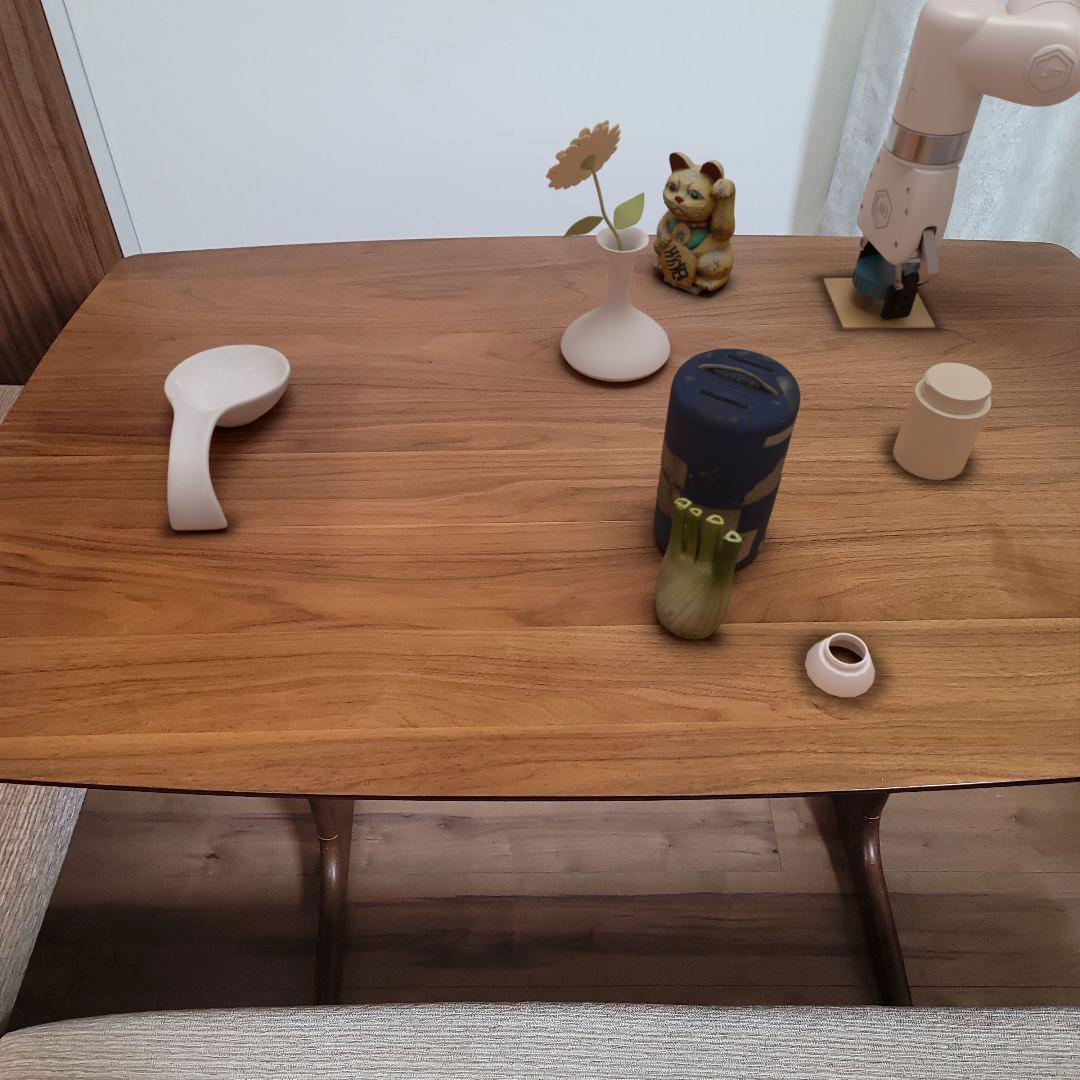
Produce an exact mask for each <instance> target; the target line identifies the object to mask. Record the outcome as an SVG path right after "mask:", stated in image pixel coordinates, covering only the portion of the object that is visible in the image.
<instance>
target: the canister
mask: <svg viewBox="0 0 1080 1080" xmlns="http://www.w3.org/2000/svg"><path fill="white" fill-rule="evenodd" d="M800 406H801V389H800V386H799V383H798V381H797V379H796V377H795V376H794V375H793V373H791V371H790V370H789V369H788V368H787V367H786V366H784V365H783V363H780V362H779V361H778V360H775V359H774V358H772V357H770V356H768V355H766V354H763V353H760V352H756V351H752V350H748V349H743V348H714V349H710V350H707V351H703V352H699V353H697V354H696V355H693V356H692V357H690V358H689V359H687V360H686V361H684V362H683V363H682V364H681V366H679V368H678V369H677V370H676V372H675V374H674V376H673V378H672V381H671V385H670V390H669V398H668V405H667V412H666V420H665V427H664V434H663V439H662V440H663V441H662V446H661V447H662V448H661V453H660V469H659V476H658V483H657V489H656V500H655V508H654V514H653V531H654V535H655V539H656V540H657V543H658V545H659V546H660V547H661V549H662V550H663V551H664V553H666V551H667V548H668V545H669V542H670V536H671V528H672V518H673V502H674V501H675V500H676V499H677V498H686V499H688V500H689V501H691V502H692V508H699V509H701V510H702V512H703V514H702V515H703V516H702V519H703V522H702V534H703V529H704V523H705V519H707V518H709V517H710V516H712V515H713V514H714V515H718V516H720V517H722V519H723V521H724V527H723V533H722V538H721V542H720V546H721V544H722V541H723V538H724V536H725V535H726V534H727V533H728V532H730V531H731V530H732V531H735V532H737V533H738V534H739V536H740V537H741V538H742V545H741V548H740V551H739V554H738V558H737V561H736V565H735V570H736V569H738V568H741V567H743V566H745V565H746V564H748V563H749V562H751V561H752V560H753V559H754V558H755V557H756V556H757V555H758V553H759V552H760V551H761V549H762V548H763V545H764V542H765V538H766V533H767V529H768V526H769V522H770V519H771V516H772V513H773V509H774V507H775V503H776V500H777V494H778V491H779V489H780V484H781V480H782V473H783V470H784V466H785V461H786V458H787V454H788V451H789V447H790V443H791V439H792V435H793V431H794V427H795V424H796V420H797V417H798V414H799V411H800ZM701 536H702V535H701ZM701 543H702V541H701Z"/></svg>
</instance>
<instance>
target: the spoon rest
mask: <svg viewBox="0 0 1080 1080" xmlns="http://www.w3.org/2000/svg"><path fill="white" fill-rule="evenodd" d="M291 372H292V369H291V364H290V361H289V360H288V358H287V357H286V355H284V354H283V353H282V352H280V351H279V350H277V349H274V348H272V347H268V346H264V345H257V344H234V345H233V344H232V345H223V346H218V347H213V348H210V349H205V350H203V351H200V352H198V353H195V354H193V355H191V356H189V357H187V358H185V359H184V360H183V361H181V362H180V363H178V364H177V365H176V366H175V367H174V368H172V370H171V371H170V372H169V374H168V375H167V377H166V379H165V382H164V385H163V386H164V387H163V392H164V395H165V396H166V399H167V401H168V402H169V404H170V405H171V407H172V410H173V423H172V427H171V435H170V440H169V443H170V444H169V451H168V452H169V453H168V462H167V463H168V464H167V466H168V467H167V485H166V487H167V488H166V490H167V491H166V492H167V493H166V494H167V495H166V496H167V497H166V500H167V512H168V513H167V514H168V519H169V523H170V526H171V529H173V530H175V531H205V530H207V531H209V530H220V529H226V528H227V527H228V521H227V519H226V516H225V514H224V512H223V510H222V507H221V504H220V502H219V500H218V498H217V495H216V492H215V489H214V486H213V484H212V483H213V482H212V479H211V474H210V463H209V462H210V460H209V459H210V448H211V447H210V446H211V441H212V436H213V433H214V430H215V427H216V426H217V427H222V428H236V427H241V426H245V425H248V424H251V423H252V422H254V421H256V420H258V419H259V418H260V417H262V416H263V415H265V414H266V413H267V412H269V411H270V410H271V409H272V408H273V407H274V406H275V405H276V404H277V403H278V402H279V401H280V399H281V398H282V396H283V395H284V393H285V392H286V390H287V387H288V386H289V385H288V384H289V381H290V377H291Z"/></svg>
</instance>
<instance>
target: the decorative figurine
mask: <svg viewBox="0 0 1080 1080" xmlns="http://www.w3.org/2000/svg"><path fill="white" fill-rule="evenodd" d="M668 161H669V167H670V170H671V174H670V175H669V176H668V178H667V180H666V182H665V185H664V189H663V190H662V199H663V203H664V205H665V206H666V208H667V210H666V212H665V213H663V215H662V217H661V219H659V221H658V223H657V226H656V235H655V238H654V240H653V245H652V246H653V250H654V252H655V253H656V255H657V256H656V257H655V258H654V260H653V262H652V263H653V265H652V266H653V270H655V271H656V272H658V273H661V274H663V276H664V277H663V281H664V282H666V283H669V284H670V285H671V286H673V287H676V288H680V289H682V290H685V291H687V292H689V293H692V294H694V295H699V294H700V293H702V292H703V291H704V290H705V291H707V290H708V291H709V292H713V291H715V290H718V289H719V288H721V287H723V285H725V284H726V283H727V282H728V281H729V278H730V275H731V272H732V270H733V267H734V259H735V257H734V253H733V250H732V243H731V238H732V237H733V236H734V233H735V230H736V218H735V207H736V205H735V204H736V193H737V190H736V184H735V183H734V181H733V180H731V179H729V178H725V170H724V166H723V165H722V163H721V162H720V161H718V160H716V159H710V160H707V161H705V162H704V163H702V164H695V162H693V160H692V159H691V158H690V157H689V156H688V155H686V154H685V153H683V152H680V151H673V152H671V153H670V154H669V157H668Z"/></svg>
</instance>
